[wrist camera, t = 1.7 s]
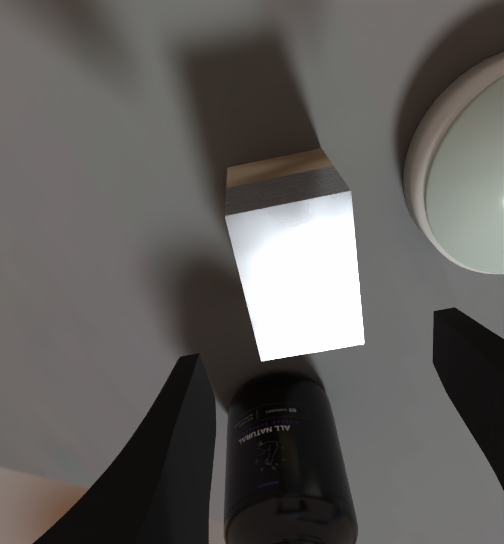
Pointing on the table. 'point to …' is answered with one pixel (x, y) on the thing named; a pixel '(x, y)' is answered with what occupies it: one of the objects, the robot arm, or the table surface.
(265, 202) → the block
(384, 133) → the table surface
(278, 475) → the supplement bottle
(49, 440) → the table surface
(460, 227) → the stand
